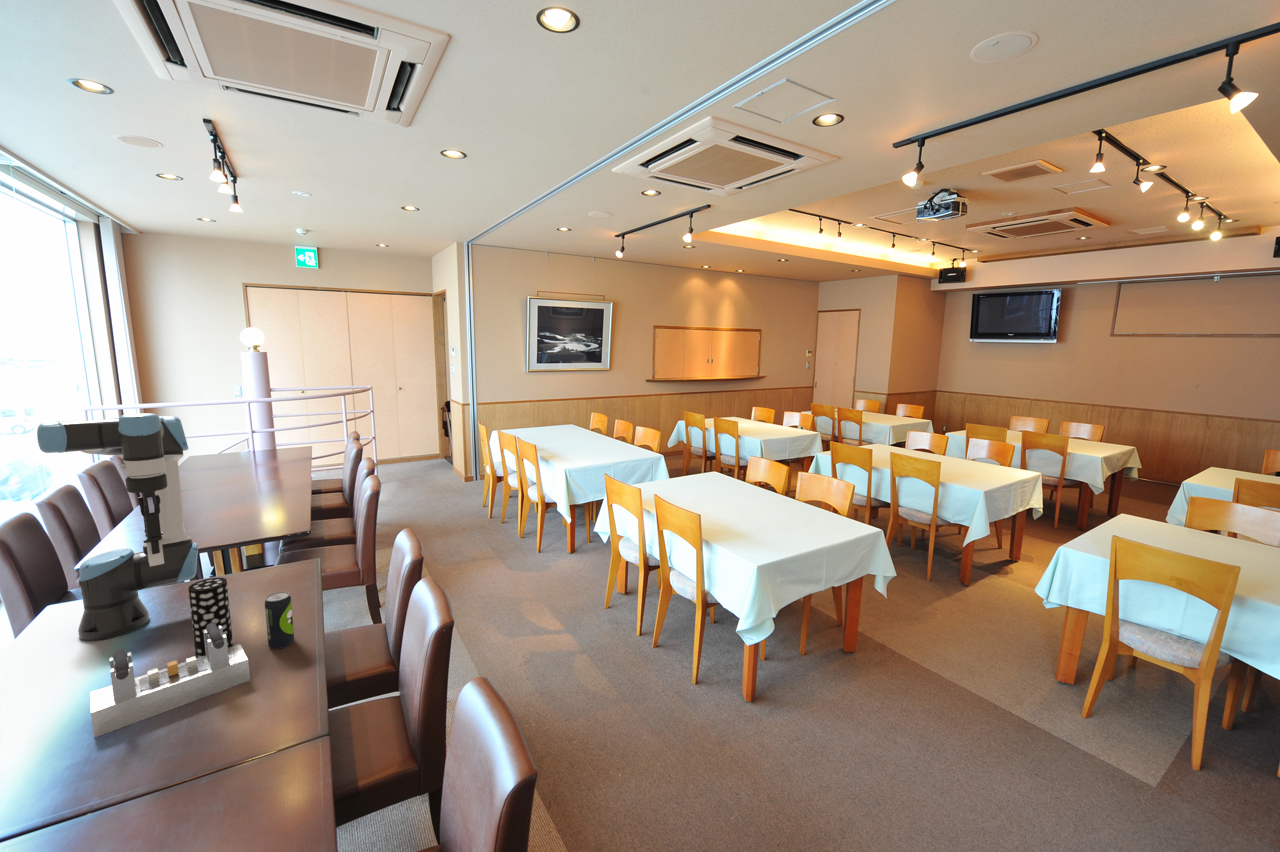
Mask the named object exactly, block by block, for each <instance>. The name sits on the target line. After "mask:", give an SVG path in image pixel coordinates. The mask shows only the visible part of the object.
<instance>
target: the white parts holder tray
mask: <svg viewBox="0 0 1280 852" xmlns="http://www.w3.org/2000/svg"><path fill="white" fill-rule="evenodd" d="M218 630H219V632H220V635H221V637H222V639H223V641H224V646H223V647H222V648H220V649H216V648H215V647H214V645H213V643H212V641H211V638H210V636H209V634H208V633H207V630H204V631H203V632H204V641H205V651H206V655H205V656H202V657H196V655H193V656H191V657H187V658H185V661H184V662H180V663H178V672H179V673H178V674H175V675H172V676H169V675H168V669H167V667H165V668H161V669H158V667H156V668H152V669H151V670H150V669H149V670H147V673H145V674H143V675H140V676H137V677H135V670H134V665H133V664H134V663H133V657H132V652H131V651H129V652H126V655H127V664H128V671H129V674H128V676H127V677H126V678H125V679H122V680H119V679H117V678H116V670H115V660H114V656H113V657H112V656H111V657H109V659H108V661H109V667H110V668H109V669H110V671H109V672H110V678H111V679H110V680H111V685H108V686H106V687H101V688H99V689H95V690H92V691H90V694H89V695H90V716H91V723H92V730H93V737H94V738H97V737H100V736H102V735H105V734H108V733H110V732H114V731H116V730H119V729H122V728H125V727H127V726H129V725H130V726H131V725H133V724H136V723H137V722H141V721H144V720H146V719H149V718H152V717H154V716H156V715H160V714H162V713H166V712H168V711H171V710H174V709H176V708H179V707H181V706H184V705H187V704H190V703H193V702H195V701H199V700H202V699H203V698H207V697H209V696H212V695H214V694H218V693H220V692H223V691H226V690H228V689H231V688H233V687H236V686H239V685H241V684H242V685H243V684H245V683H247V682H250V681H251V675H250V667H249V658H248V657H247V655H246V652H245V651H244V649H243V647H242V645H241V644H240V643H239V644H236V645H233V647H230V648H228V646H227V637H226V635H225V634H224V635H223V630H222V626H218Z"/></svg>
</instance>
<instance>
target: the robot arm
mask: <svg viewBox="0 0 1280 852" xmlns="http://www.w3.org/2000/svg"><path fill="white" fill-rule="evenodd" d="M36 432H37V433H36V435H37V436H36V437H37V443H38V446H39V449H40V450H41V451H42V452H43V453H46V454H50V453H51V454H55V453H58V454H61V453H70V452H81V453H84V454H89V455H103V456H104V455H105V456H122V460H123V463H121V464H119V466H120V468H121V469H124V475H125V476H126V478H125V479H124V480H125V487H126V492H128V493H131V494H141V495H140V496H139V497H137V504H138V505H139V509H140V515H141V516H142V518H143V519H142V520H143V526H144V530H143V531H144V533H145V537H146V538H145V539H144V540H143V545H142V551H140V552H135V551H134V550H133V549H132V548H119V549H115V550H114V549H113V550H110V551H106V552H103V553H100V554H97V555H95V556H92V557H90V558H88V559H86V560H85V561H84V562H82V563H81V564H80V566H79V568H78V569H79V570H78V573H79V574H78V575H79V578H78V581H79V582H80V589H81V594H82V595H81V596H82V603H83V609H84V610H83V613H82V617H81V619H80V623H79V626H78V631H77V632H78V637H79V639H80V640H83V641H101V640H107V639H111V638H115V637H119V636H122V635H125V634H128V633H130V632H133V631H136V630H137V629H140V628H141V627H142V626H143V627H144V626H145V624H147V623H148V622H149V620H150V614H149V611H148V609H147V608H146V606H145V604H144V603H143V602H142V600H141V598H140V596H139V591H142V590H143V591H144V590H147V589H152V588H153V589H154V588H158V587H163V586H167V585H171V584H172V585H173V584H179V583H181V582H185V581H190V580H191V579H193V578H194V577H196V575H197V568H198V567H197V566H198V565H197V564H198V550H199V543H198V542H193V539H192V537H191V536H189V535H188V534H186V530H185V521H184V520H185V519H184V511H183V501H182V491H181V482H180V481H181V480H180V470H179V469H180V468H179V461H180V460H181V459H182V458H183V457H184V451H185V452H186V451H188V450H189V444H188V442H187V438H186V433H185V430H184V427H183V424H182V420H181V418H180V417H178V416H175V415H172V416H171V415H170V416H169V415H159V414H157V413H149V412H147V413H145V412H144V413H143V412H142V413H127V414H123V415H120V416H119V417H118V418H109V419H98V420H97V419H96V420H74V421H70V420H69V421H60V420H59V421H54V422H53V421H52V422H51V421H50V422H43V423H40V424H39V425H38V426H37V431H36Z"/></svg>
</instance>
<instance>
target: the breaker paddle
mask: <svg viewBox="0 0 1280 852" xmlns="http://www.w3.org/2000/svg"><path fill="white" fill-rule="evenodd" d="M178 664H179V663H178V661H177V660H175V659H174V660H172V661H169V662H166V668H167V669H168V675H169V676H172V675H175V674H178V673H179V672H178Z"/></svg>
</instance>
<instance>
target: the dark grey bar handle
mask: <svg viewBox="0 0 1280 852" xmlns="http://www.w3.org/2000/svg"><path fill="white" fill-rule="evenodd" d="M127 658H128V655H127V651H126V649H125V648H119V649H116V650H115V651H114V654H113V661H114V662H115V670H116V678H117V679H119V680H122V679H125V678H126V677H127V676H128V674H129V671H128V664H127Z"/></svg>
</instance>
